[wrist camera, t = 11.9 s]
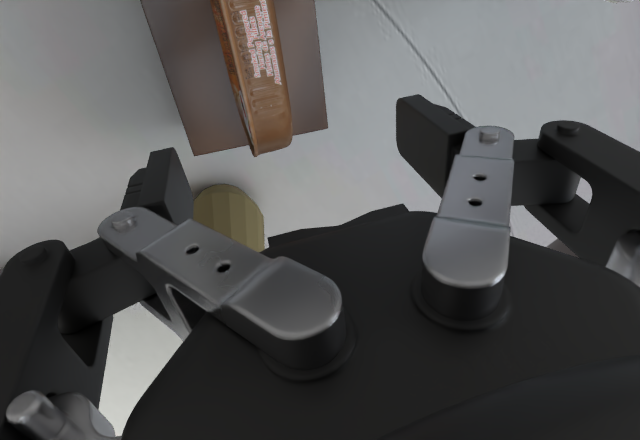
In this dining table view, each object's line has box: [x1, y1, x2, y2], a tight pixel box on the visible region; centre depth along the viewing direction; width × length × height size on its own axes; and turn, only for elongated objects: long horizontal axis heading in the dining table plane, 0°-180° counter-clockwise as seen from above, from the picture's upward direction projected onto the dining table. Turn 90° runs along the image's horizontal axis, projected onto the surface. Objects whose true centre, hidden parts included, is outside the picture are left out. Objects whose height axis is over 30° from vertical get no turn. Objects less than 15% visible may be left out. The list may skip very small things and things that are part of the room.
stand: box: [140, 0, 328, 156], centre depth 29 cm, size 11×18×7 cm, turn 6°
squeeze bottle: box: [193, 184, 265, 252], centre depth 35 cm, size 8×8×18 cm
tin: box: [210, 0, 293, 157], centre depth 23 cm, size 15×3×8 cm, turn 6°
